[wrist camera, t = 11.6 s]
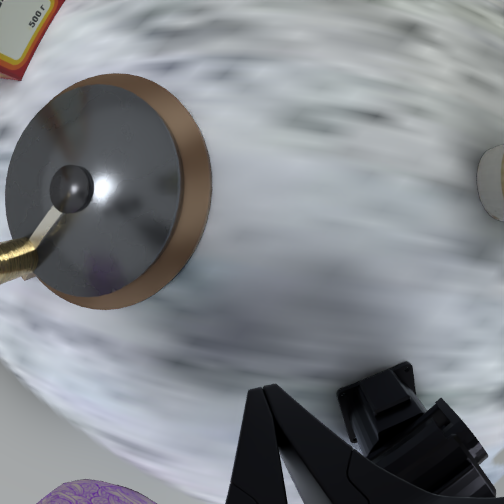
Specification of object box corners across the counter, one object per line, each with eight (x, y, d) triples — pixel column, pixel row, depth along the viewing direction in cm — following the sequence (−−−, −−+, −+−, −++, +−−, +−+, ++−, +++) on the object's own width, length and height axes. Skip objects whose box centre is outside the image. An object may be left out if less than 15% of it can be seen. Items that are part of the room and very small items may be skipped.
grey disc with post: (105, 56, 17) (0, -30, 5) (231, 193, 19) (181, 180, 6) (-8, 199, 19) (-124, 210, 7) (85, 333, 21) (-22, 425, 8)
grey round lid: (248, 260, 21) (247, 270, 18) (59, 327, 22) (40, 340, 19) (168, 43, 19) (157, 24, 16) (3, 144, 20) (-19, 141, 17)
